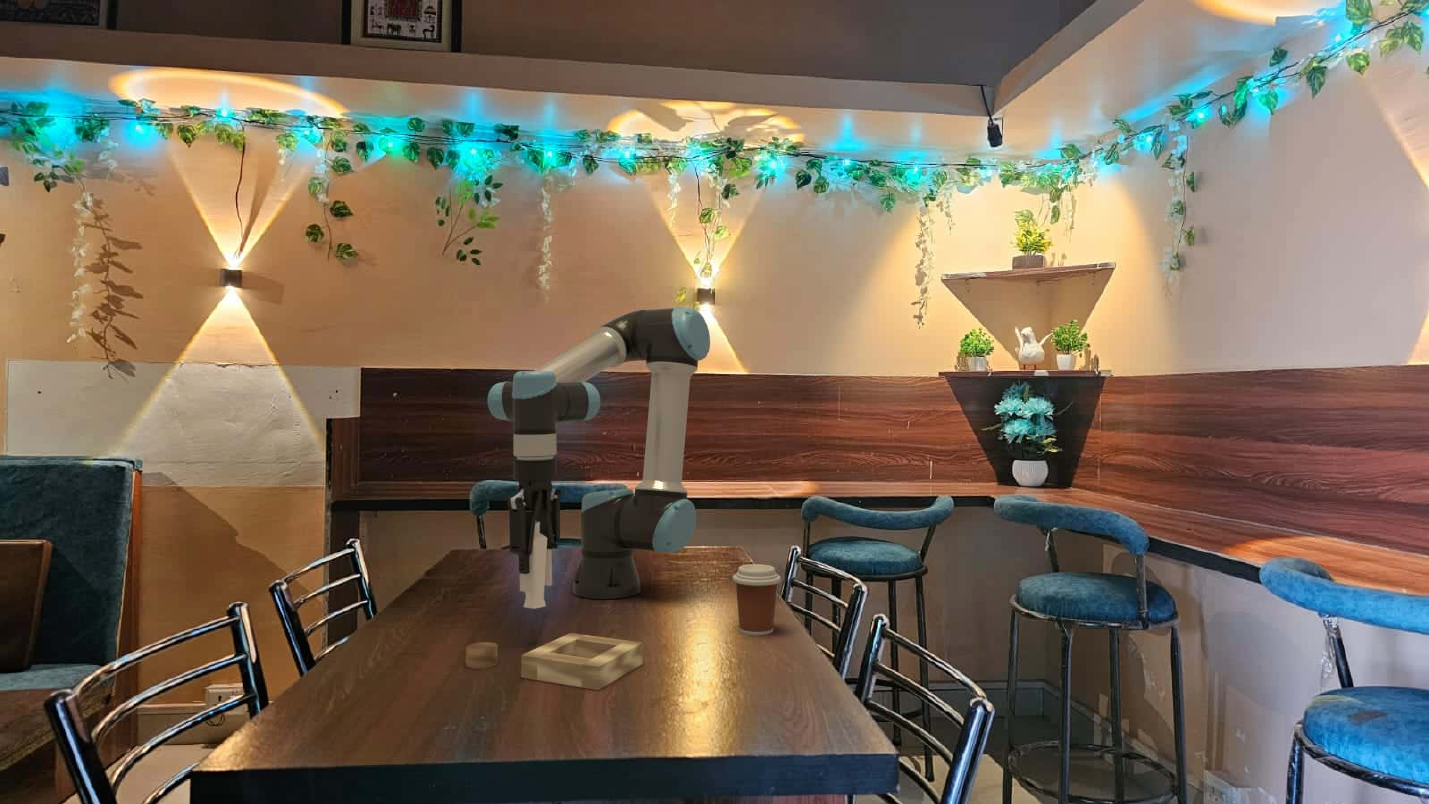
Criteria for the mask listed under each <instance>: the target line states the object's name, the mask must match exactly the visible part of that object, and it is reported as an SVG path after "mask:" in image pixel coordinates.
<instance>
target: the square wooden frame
mask: <svg viewBox="0 0 1429 804" xmlns="http://www.w3.org/2000/svg"><path fill="white" fill-rule="evenodd" d="M643 648H644V643H643V642H641V641H633V640H625V639H619V638H618V639H617V638H612V637H604V636H597V635H589V634H588V635H587V634H580V633H573V632H569V633H568V634H565V635H562V636H561V637H559V638H557V639H556V638H555V640H551V641H550V642H547V643H545V644H543V645H541V646H539V647H537V648H534V649H532V650H530V651H527V652H525V653H523V654H521V656H520V657H521V662H520V663H521V665H520V667H521V668H520V669H521V670H520V674H521V675H520V677H521V679H528V680H533V681H540V682H547V683H552V684H557V685H558V684H559V685H564V686H565V685H566V686H571V687H575V688H577V687H578V688H583V689H590V690H596V691H599V690H601V689H603V688H605V687H606V686H608V685H610V684H612V683H613V682H615V681H617V680H619V678H622V677H623V676H625V675H626V674H628V673H630V672H632V671H633V670H635V669H637V668H638V667H640V666H642V665H643V662H644V657H643V656H644V651H643V650H644V649H643Z"/></svg>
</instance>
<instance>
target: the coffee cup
mask: <svg viewBox="0 0 1429 804" xmlns="http://www.w3.org/2000/svg"><path fill="white" fill-rule="evenodd" d="M732 581H733V582H734V583H735V586H736V599H737V615H738V616H737V617H738V629H739V630H738V631H739V632H740V633H741V634H744V635H747V636H766V635H767V636H768V635H770V634H773V632H774V626H775V625H774V624H775V610H776V601H777V589H778V584H779V583H781V581H782V578H781V576H780V575H779V574H778V573H777V572H776V567H774V566H773V565H768V564H759V563H758V564H757V563H756V564H755V563H753V564H749V563H748V564H743V565H740V566H739V567H738V568H737V572H736V573H735V574H734V575H732Z"/></svg>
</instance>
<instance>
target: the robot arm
mask: <svg viewBox="0 0 1429 804" xmlns="http://www.w3.org/2000/svg"><path fill="white" fill-rule="evenodd" d="M710 348H711V336H710V330H709V326H708V324H707V321H706V320H705V317H704V316H703V315H702V314H701V313H700V312H699V311H698V310H697V309H695V308H691V307H689V308H688V307H687V308H686V307H675V308H674V307H673V308H660V309H639V310H635V311H631V312H629V313H625V314H623V315H621V316H618V317H616V318H614V319H613V320H611V321H609V322H607V323H605V324H603V325H601V326H599V327H598V328H596V329H595V330H594V331H592V333H591V336H590V338H588V339H586V340H584V341H583V342H580V343H579V344H577V345H576V346H574V347H572V348H571V349H569V350H568V351H566V352H564V353H562V354H560V355H559V356H557V357H555V358H554V359H551V360H550V361H549V362H547V363H545V364H542V366H540V367H538V368H536V369H534V370H526V371H525V370H524V371H521V370H520V371H517V372H515V374H514V375H513V377H512V378H513V380H512V381H510V380H509V381H504V382H498V383H496V384H494V385H492V387H491V388H490V389H489V391H488V395H487V407H488V409H489V413H490V414H491V415H492V416H493V417H494V418H495V419H498V420H501V421H502V420H503V421H509V422H512V425H513V426H512V427H513V428H512V429H513V430H512V431H513V432H512V433H513V456H514V457H516V458H515V459H514V460H513V470H512V471H513V473H512V474H513V479H514V480H515V481H517V482H518V487H517V492H516V494H515V495H514V496H508V497H507V498H506V503H507V507H508V512H509V514H508V517H509V519H508V520H509V552H510V553H511V554H513V555H516V556H518V572H519V592H524V593H525V592H532V593H533V592H535V555H532V547H533V538H534V530H535V522H536V521H539V522H540V533H541V534H542V535H544V536H545V537H547V550H546V567H545V584H544V586H545V587H546V586H549V587H551V586H553V549H558V547H559V543H560V541H561V498H562V494H563V493H562V492H563V491H562V489H560V488H554V487H553V484H552V481H554V480H555V479H556V478H557V460H556V458H554V456H556V455H557V454H558V453H557V449H558V447H557V423H573V422H575V423H582V422H584V421H590V420H591V419H593V418H594V417H596V415H598V413H599V410H600V408H601V396H600V393H599V390H598V389H597V388H596V387H595V385H593V384H592V383H590V382H587V381H588V380H590V379H592V378H593V377H595V376H596V375H598V374H599V373H602V372H603V371H604V370H606V369H608V368H617V367H620V366H621V365H622V364H624V363H628V362H637V361H639V362H641V361H643V362H644V361H645V367H646V368H647V369H648V371H649V372H650V373H651V380H650V390H649V391H650V394H649V403H648V404H649V405H648V415H647V417H648V418H647V424H646V425H647V428H646V437H645V449H644V451H645V452H644V460H643V472H642V480H641V481H640V483H639V484H638V485H636V486H635V488H634V490H633V488H620V489H612V490H611V489H610V490H603V491H595V492H589V493H587V494H585V495H583V497H582V500H581V501H582V502H581V511H580V515H581V516H580V519H581V521H580V524H581V525H580V526H581V527H580V532H581V533H580V537H581V538H580V542H581V543H580V544H581V547H580V549H581V554H580V560H579V561H580V562H579V564H578V568H577V570H576V573H575V576H574V580H573V584H572V594H573V595H575V596H577V597H580V598H586V599H593V600H613V599H624V598H629V597H633V596H636V595H638V594H640V593H641V579H640V577H639V574H638V570H637V567H636V564H635V560H634V550H638V551H639V550H641V551H649V552H656V553H659V554H663V553H672V554H673V553H678V552H680V551H682V550H684V548H685V547H686V546H687V545H688V543H690V541H691V539H692V538H693V535H694V532H695V529H696V525H697V511H696V508H695V505H694V503H693V502H692V501H690V500H689V499H688V490H687V489H686V488H685V486H684V485H683V483H682V482H683V481H682V480H683V469H684V456H685V455H684V454H685V443H686V433H687V432H686V431H687V419H688V408H689V395H690V382H691V377H692V376H693V375H694V374H695V373H696V372H697V371H698V366H699V361H702V360H704V359H705V358H707V356H708V354H709V352H710Z"/></svg>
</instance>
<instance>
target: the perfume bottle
mask: <svg viewBox="0 0 1429 804" xmlns="http://www.w3.org/2000/svg"><path fill="white" fill-rule="evenodd" d="M546 550H547V537H545V536H544V535H542V534H541V533H540V522H539V521H536V522H535V530H534V538H533V547H532V555H535V592H533V593H532V592H524V593H525V600H524V604H523V608H526V609H540V608H545V607H546V606H547V605H546V601H545V585H544V584H545V567H546Z"/></svg>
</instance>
